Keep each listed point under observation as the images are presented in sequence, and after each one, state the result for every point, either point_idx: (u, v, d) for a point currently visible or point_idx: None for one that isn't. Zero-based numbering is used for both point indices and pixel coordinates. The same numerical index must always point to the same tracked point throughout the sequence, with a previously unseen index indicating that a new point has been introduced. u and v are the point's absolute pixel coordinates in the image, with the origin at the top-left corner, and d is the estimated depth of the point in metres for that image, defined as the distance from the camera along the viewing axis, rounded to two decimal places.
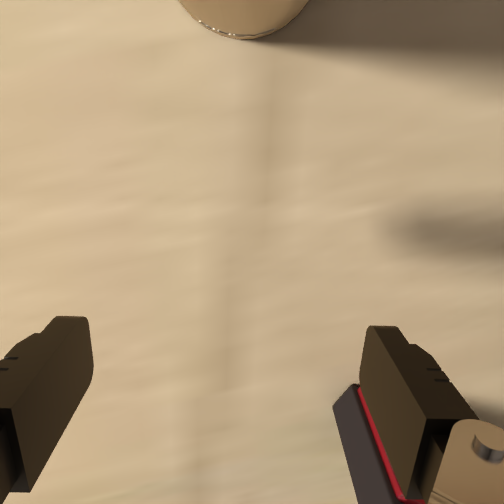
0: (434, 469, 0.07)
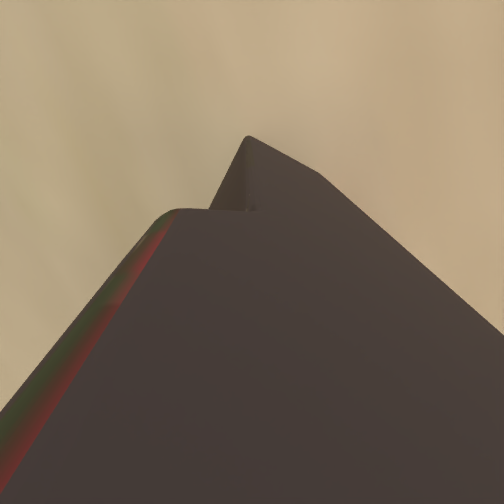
0: None
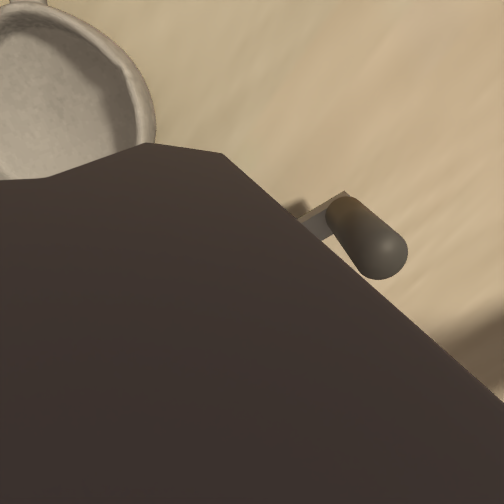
0: None
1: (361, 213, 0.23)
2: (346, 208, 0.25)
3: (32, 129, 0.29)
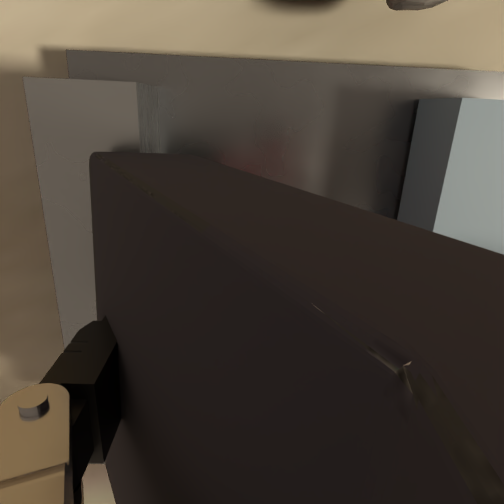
0: None
1: None
2: None
3: None
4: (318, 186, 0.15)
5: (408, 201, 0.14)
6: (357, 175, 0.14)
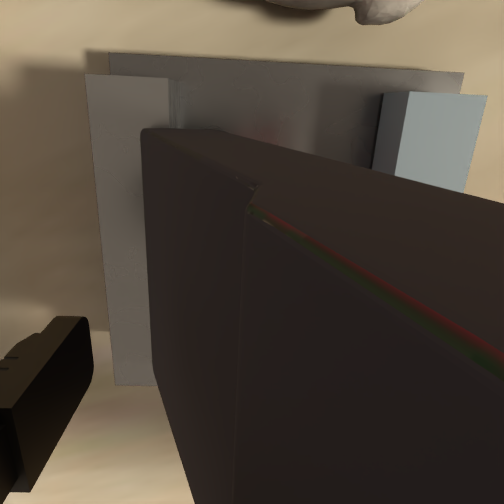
0: None
1: None
2: None
3: None
4: None
5: None
6: (336, 153, 0.18)
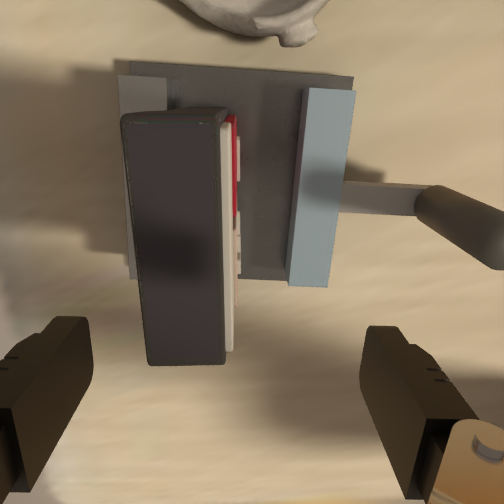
0: (434, 469, 0.07)
1: (485, 204, 0.22)
2: (461, 194, 0.24)
3: None
4: (255, 133, 0.28)
5: (299, 140, 0.28)
6: (275, 127, 0.28)
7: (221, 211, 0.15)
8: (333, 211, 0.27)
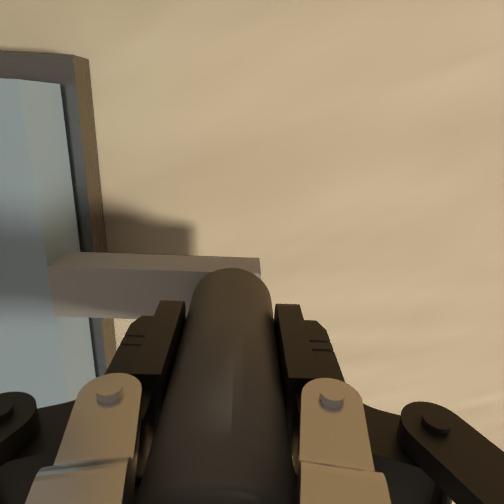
0: (295, 422, 0.08)
1: (251, 351, 0.09)
2: (231, 309, 0.10)
3: None
4: None
5: None
6: None
7: None
8: (44, 314, 0.14)
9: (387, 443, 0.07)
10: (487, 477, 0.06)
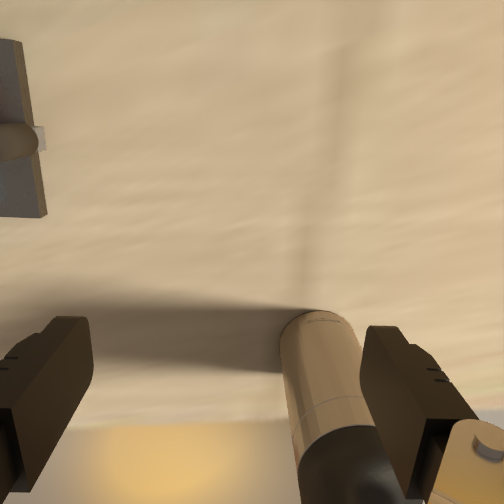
0: (434, 469, 0.07)
1: None
2: None
3: None
4: None
5: None
6: None
7: None
8: None
9: None
10: None
